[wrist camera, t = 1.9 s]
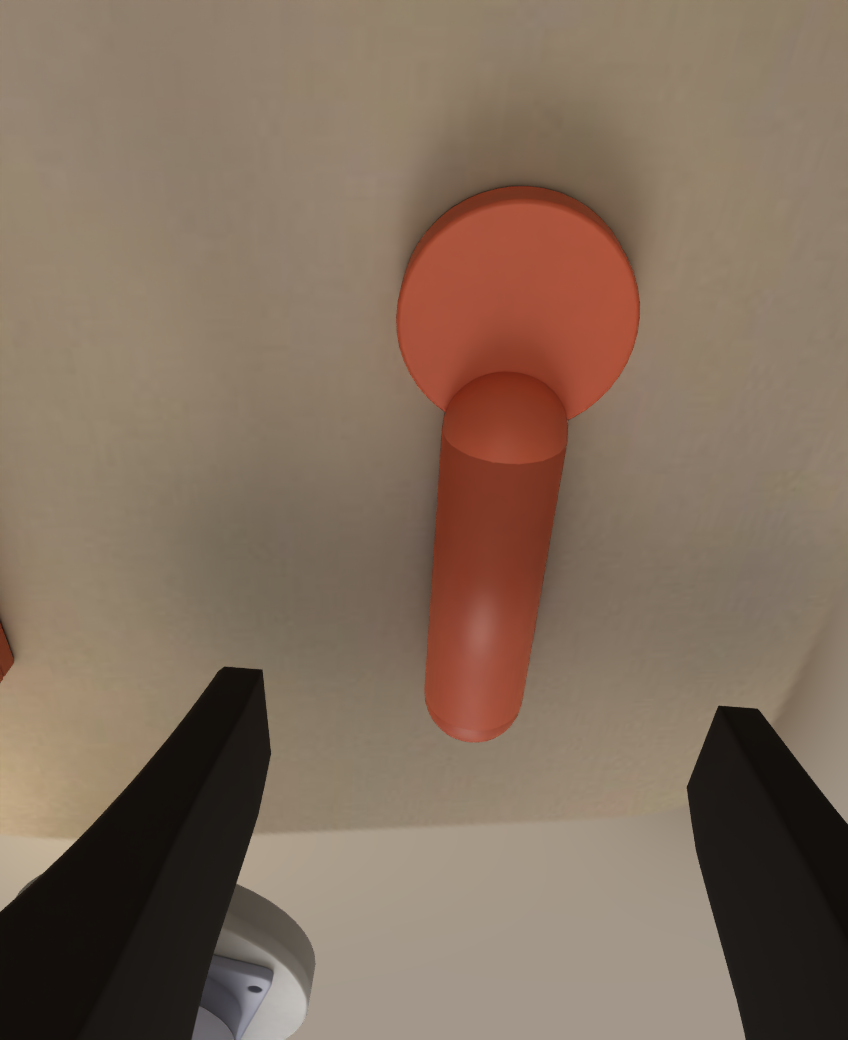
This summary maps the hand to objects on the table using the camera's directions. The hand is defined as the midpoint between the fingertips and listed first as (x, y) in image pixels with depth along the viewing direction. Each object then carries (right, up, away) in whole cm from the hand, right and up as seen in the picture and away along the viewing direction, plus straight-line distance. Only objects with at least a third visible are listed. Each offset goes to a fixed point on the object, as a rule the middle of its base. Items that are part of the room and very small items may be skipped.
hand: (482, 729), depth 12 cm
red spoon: (0, +4, +2) cm, 4 cm away
